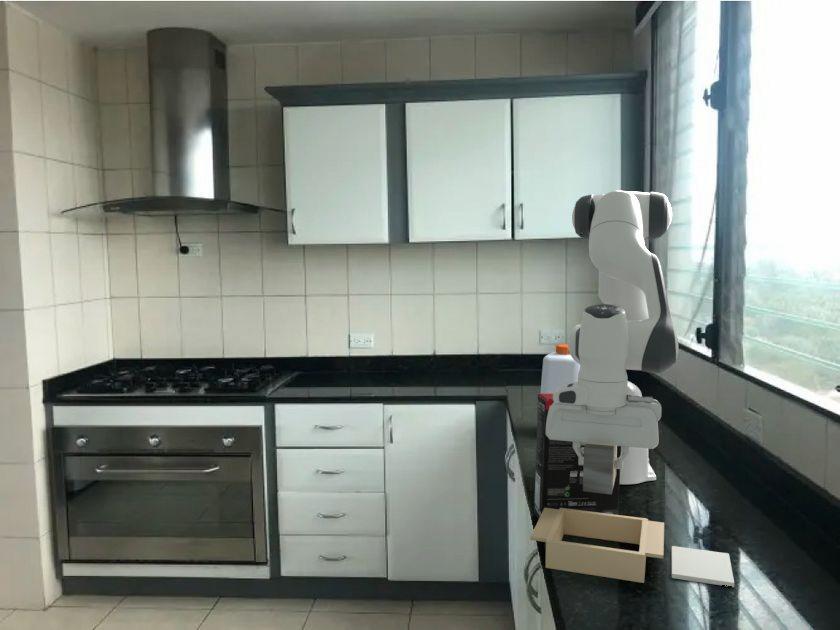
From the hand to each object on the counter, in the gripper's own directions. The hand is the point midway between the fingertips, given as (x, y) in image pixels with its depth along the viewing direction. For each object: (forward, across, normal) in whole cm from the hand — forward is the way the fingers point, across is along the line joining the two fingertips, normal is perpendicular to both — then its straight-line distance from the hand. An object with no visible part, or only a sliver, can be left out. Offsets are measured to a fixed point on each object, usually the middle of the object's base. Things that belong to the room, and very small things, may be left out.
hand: (600, 466), depth 129 cm
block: (+3, 0, 0) cm, 3 cm away
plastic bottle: (+18, +18, -82) cm, 86 cm away
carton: (+17, 0, 0) cm, 17 cm away
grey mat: (+17, -18, -1) cm, 25 cm away
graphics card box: (+18, +6, -16) cm, 24 cm away
